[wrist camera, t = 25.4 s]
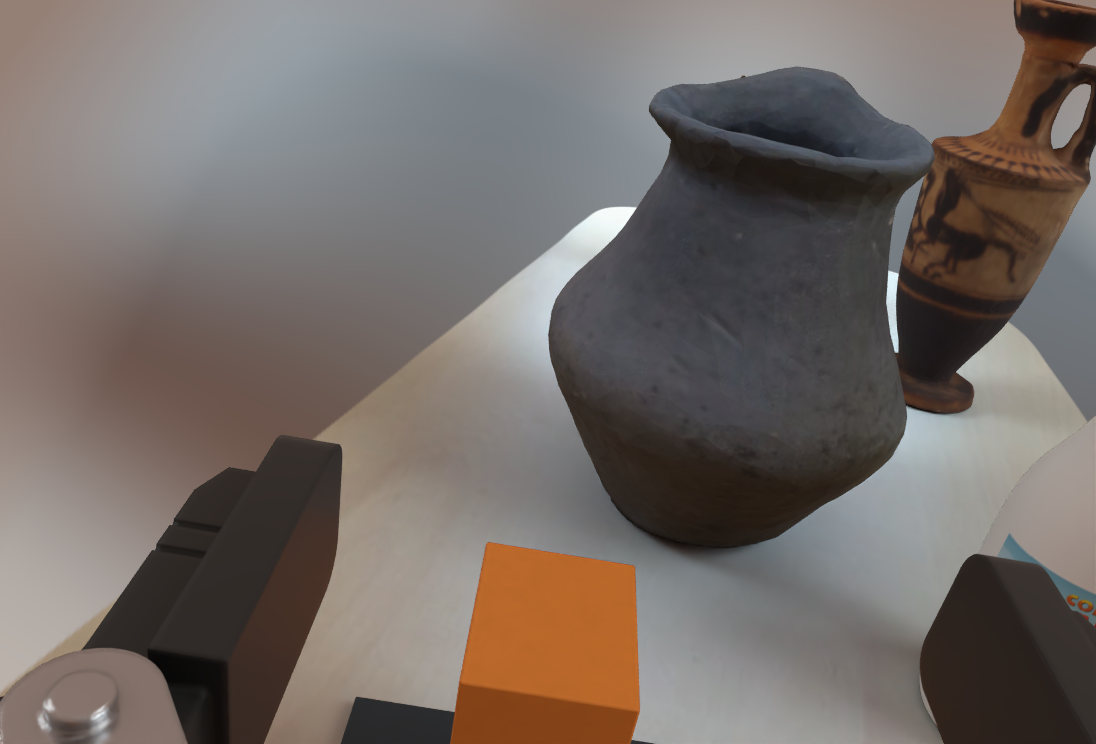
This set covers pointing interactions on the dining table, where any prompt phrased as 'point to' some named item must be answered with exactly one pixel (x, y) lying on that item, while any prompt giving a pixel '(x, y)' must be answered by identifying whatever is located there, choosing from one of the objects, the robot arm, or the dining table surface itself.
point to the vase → (994, 211)
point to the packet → (549, 652)
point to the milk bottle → (1054, 522)
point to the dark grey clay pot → (744, 312)
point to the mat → (399, 724)
